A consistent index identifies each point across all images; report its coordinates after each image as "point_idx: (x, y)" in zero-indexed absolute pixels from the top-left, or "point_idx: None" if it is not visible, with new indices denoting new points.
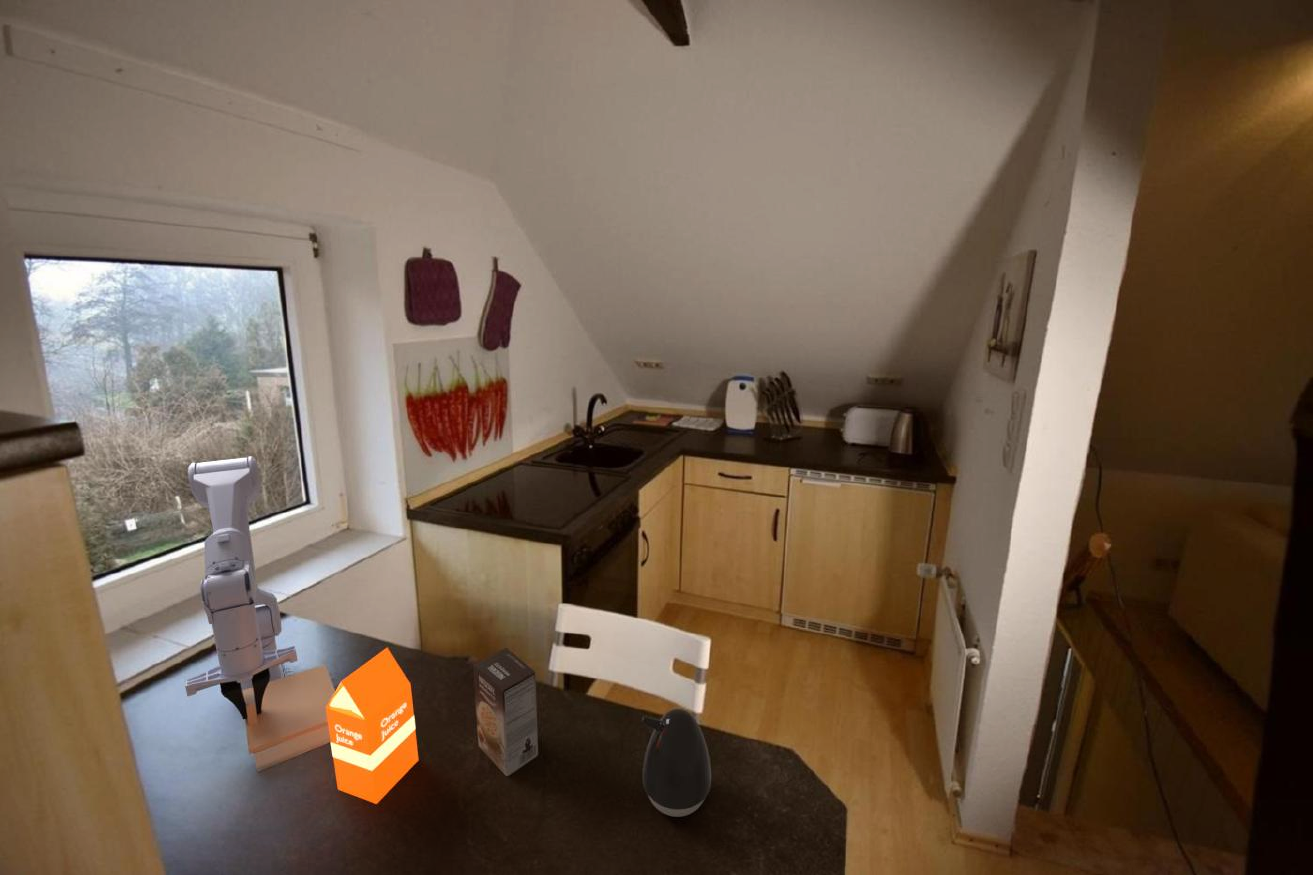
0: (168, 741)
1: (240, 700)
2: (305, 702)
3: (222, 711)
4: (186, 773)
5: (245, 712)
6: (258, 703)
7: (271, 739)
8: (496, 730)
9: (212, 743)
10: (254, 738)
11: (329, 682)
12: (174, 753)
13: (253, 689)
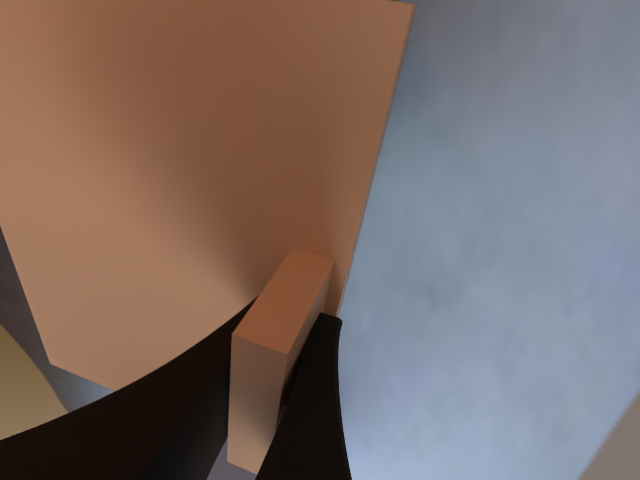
0: (529, 446)
1: (292, 438)
2: (93, 214)
3: (372, 431)
4: (588, 274)
5: (314, 340)
6: (228, 338)
7: (261, 9)
8: None
9: (448, 342)
10: (342, 117)
11: (20, 263)
12: (549, 393)
13: (141, 469)
